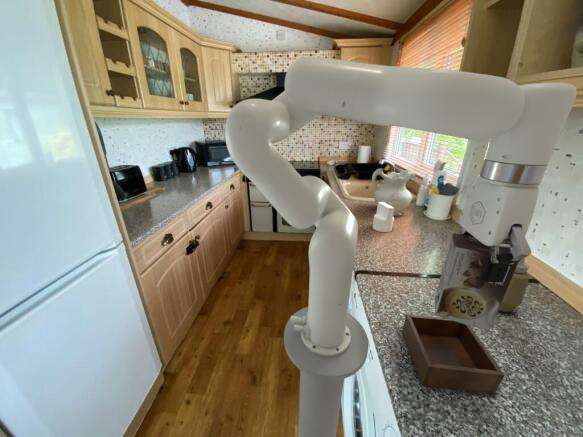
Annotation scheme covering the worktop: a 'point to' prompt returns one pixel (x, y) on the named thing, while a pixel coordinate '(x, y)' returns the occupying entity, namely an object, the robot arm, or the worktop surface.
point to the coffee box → (469, 284)
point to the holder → (450, 355)
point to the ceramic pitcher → (393, 189)
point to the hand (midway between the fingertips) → (475, 266)
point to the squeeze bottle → (516, 288)
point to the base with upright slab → (383, 217)
